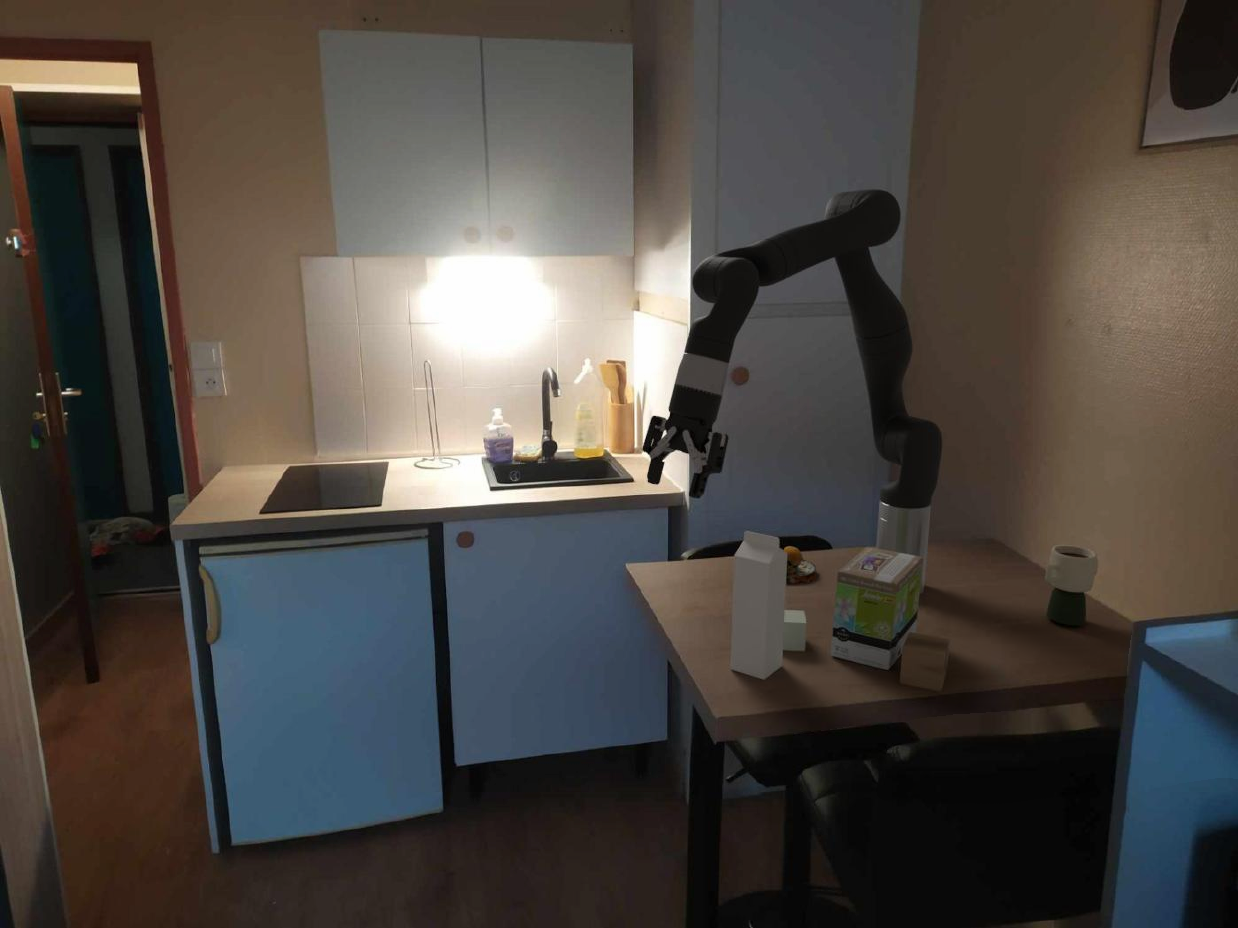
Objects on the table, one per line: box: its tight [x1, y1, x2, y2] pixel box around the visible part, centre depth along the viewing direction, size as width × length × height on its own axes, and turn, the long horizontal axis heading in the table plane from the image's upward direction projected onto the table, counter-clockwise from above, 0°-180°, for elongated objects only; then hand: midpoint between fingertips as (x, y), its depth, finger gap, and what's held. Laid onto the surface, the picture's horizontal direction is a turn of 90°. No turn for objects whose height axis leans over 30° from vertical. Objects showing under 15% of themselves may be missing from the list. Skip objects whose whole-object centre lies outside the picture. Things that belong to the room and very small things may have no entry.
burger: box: [783, 546, 817, 585], centre depth 186 cm, size 12×12×8 cm
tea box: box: [830, 546, 923, 671], centre depth 152 cm, size 15×10×15 cm
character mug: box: [1044, 544, 1099, 627], centre depth 162 cm, size 11×7×13 cm, turn 109°
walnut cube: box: [899, 632, 950, 692], centre depth 142 cm, size 6×6×6 cm
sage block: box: [783, 609, 808, 652], centre depth 154 cm, size 5×5×5 cm
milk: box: [730, 530, 787, 681], centre depth 144 cm, size 6×6×22 cm
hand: (673, 490), depth 143 cm, fingers open, 8 cm apart
